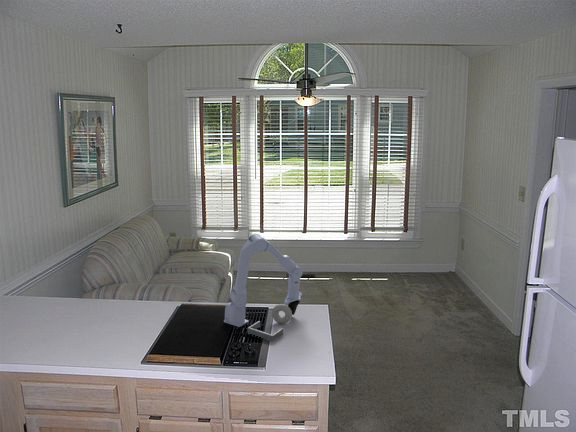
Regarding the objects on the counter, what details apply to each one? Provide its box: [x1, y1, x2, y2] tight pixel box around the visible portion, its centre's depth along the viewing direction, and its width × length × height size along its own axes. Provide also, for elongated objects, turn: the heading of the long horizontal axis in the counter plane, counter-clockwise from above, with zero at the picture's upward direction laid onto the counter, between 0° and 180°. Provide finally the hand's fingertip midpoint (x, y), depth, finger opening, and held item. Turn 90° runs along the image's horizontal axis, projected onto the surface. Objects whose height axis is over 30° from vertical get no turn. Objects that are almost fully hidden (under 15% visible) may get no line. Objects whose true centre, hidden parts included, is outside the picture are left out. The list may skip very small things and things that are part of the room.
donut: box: [271, 303, 293, 325], centre depth 246 cm, size 10×3×10 cm, turn 78°
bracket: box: [247, 320, 284, 343], centre depth 235 cm, size 14×9×3 cm
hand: (292, 313), depth 255 cm, fingers closed
